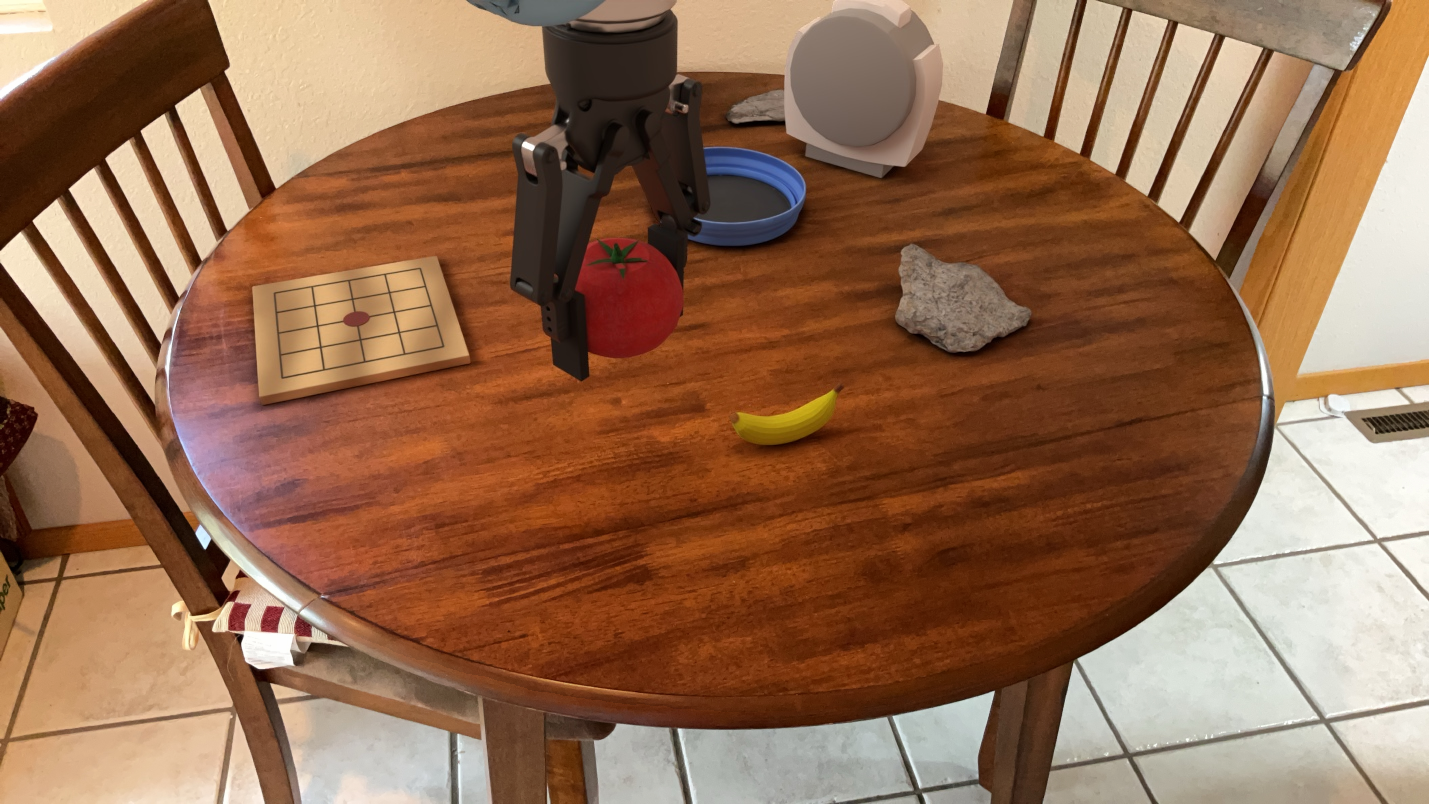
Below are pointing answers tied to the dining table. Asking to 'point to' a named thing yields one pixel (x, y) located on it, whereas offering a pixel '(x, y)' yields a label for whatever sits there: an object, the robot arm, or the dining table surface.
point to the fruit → (786, 421)
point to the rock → (954, 303)
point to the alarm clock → (863, 85)
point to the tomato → (628, 297)
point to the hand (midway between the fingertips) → (620, 339)
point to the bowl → (748, 197)
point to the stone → (759, 108)
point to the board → (354, 329)
